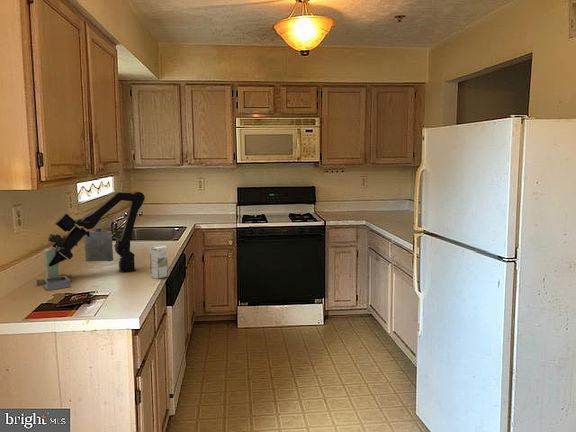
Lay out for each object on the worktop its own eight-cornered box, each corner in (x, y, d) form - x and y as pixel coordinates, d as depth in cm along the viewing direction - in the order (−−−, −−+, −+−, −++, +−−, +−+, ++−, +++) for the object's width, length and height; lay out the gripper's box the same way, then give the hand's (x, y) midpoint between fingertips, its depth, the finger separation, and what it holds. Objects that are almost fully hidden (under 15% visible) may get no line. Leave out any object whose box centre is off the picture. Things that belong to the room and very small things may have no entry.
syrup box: (160, 274, 226) (159, 244, 224) (168, 276, 222) (167, 246, 220) (150, 277, 221) (149, 246, 220) (158, 279, 218) (157, 248, 216)
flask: (87, 259, 259) (85, 226, 257) (114, 259, 260) (112, 226, 258) (84, 261, 256) (82, 227, 254) (112, 260, 256) (110, 227, 254)
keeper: (66, 282, 213) (65, 275, 213) (70, 286, 206) (70, 280, 205) (43, 285, 208) (43, 278, 207) (47, 290, 201) (46, 283, 200)
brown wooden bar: (71, 279, 217) (70, 274, 217) (72, 280, 216) (71, 275, 216) (36, 284, 209) (36, 279, 209) (37, 285, 208) (37, 280, 208)
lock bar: (57, 278, 221) (55, 248, 219) (59, 280, 217) (57, 249, 215) (46, 279, 218) (44, 249, 216) (48, 281, 214) (46, 250, 213)
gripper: (55, 224, 224) (30, 250, 219) (63, 229, 209) (36, 257, 204) (74, 239, 230) (50, 265, 225) (83, 245, 215) (58, 273, 210)
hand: (48, 265), depth 216 cm, fingers closed on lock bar, 4 cm apart
